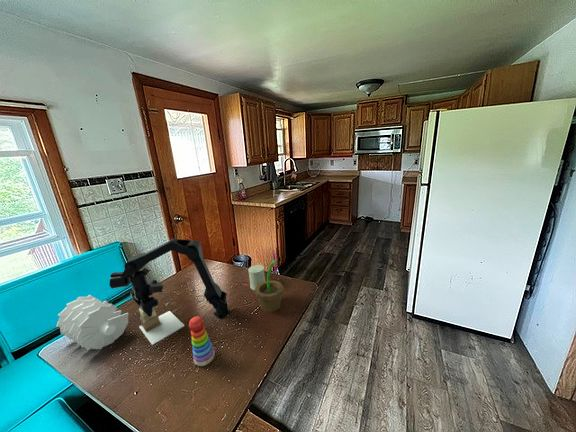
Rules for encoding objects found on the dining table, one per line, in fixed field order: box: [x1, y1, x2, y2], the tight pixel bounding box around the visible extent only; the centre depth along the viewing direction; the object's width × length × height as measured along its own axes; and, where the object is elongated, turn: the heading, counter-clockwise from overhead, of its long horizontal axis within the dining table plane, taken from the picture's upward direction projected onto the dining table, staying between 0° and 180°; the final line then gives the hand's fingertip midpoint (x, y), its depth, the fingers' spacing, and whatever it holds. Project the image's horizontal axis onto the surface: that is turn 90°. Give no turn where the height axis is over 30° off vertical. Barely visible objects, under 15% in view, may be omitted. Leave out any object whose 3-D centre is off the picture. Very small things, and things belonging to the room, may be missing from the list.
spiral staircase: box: [55, 294, 130, 351], centre depth 101 cm, size 18×18×25 cm
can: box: [248, 264, 266, 291], centre depth 134 cm, size 9×9×12 cm
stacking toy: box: [188, 315, 216, 367], centre depth 87 cm, size 8×8×19 cm
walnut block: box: [139, 313, 160, 332], centre depth 108 cm, size 6×6×5 cm
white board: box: [138, 310, 185, 346], centre depth 108 cm, size 17×14×1 cm
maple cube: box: [138, 306, 157, 322], centre depth 106 cm, size 5×5×5 cm
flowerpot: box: [254, 250, 284, 313], centre depth 113 cm, size 14×14×30 cm
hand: (148, 313), depth 106 cm, fingers open, 6 cm apart
